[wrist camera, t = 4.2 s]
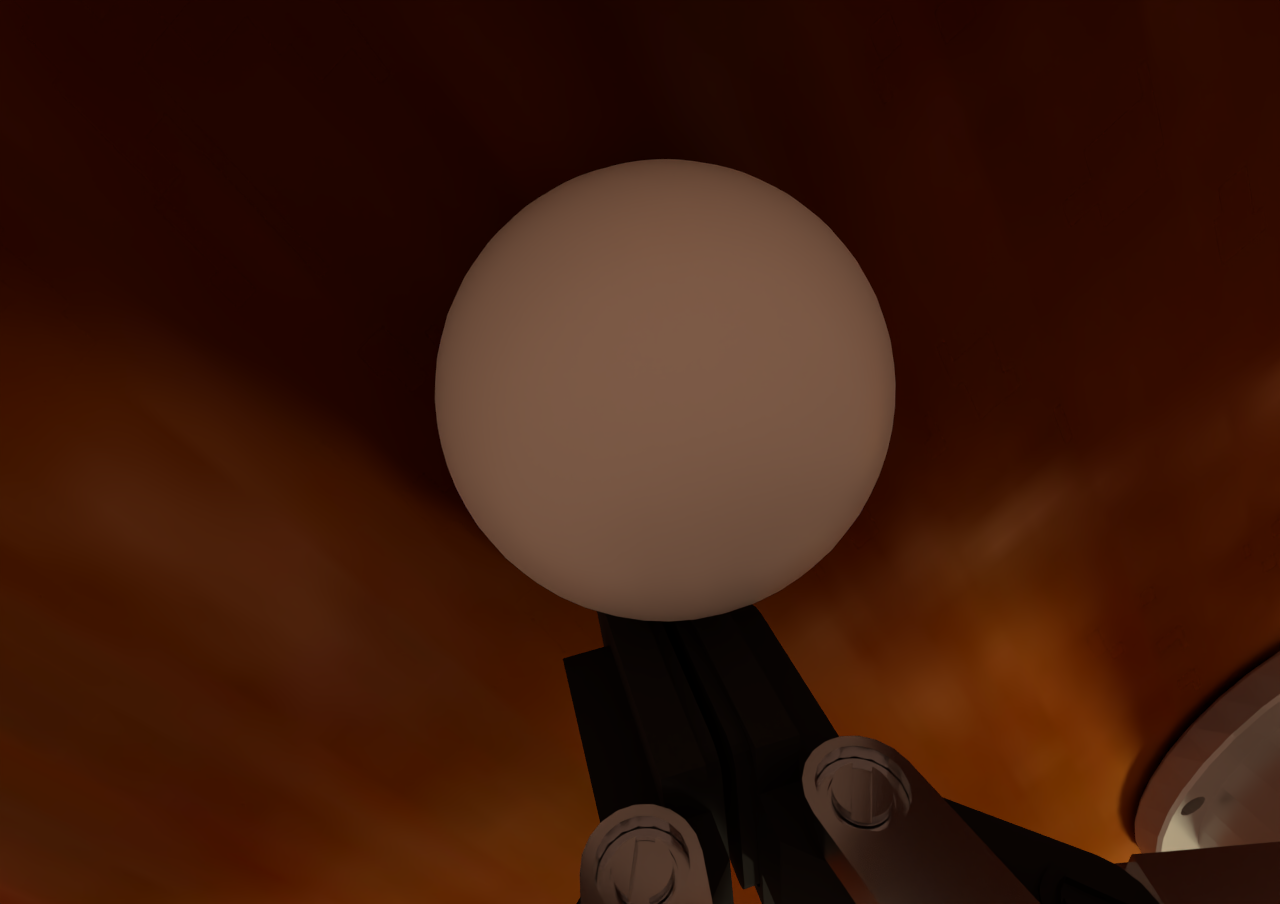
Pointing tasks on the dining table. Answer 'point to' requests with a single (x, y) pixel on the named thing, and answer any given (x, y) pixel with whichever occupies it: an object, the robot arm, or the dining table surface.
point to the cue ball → (665, 390)
